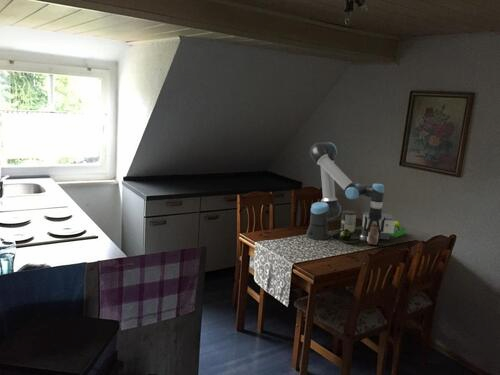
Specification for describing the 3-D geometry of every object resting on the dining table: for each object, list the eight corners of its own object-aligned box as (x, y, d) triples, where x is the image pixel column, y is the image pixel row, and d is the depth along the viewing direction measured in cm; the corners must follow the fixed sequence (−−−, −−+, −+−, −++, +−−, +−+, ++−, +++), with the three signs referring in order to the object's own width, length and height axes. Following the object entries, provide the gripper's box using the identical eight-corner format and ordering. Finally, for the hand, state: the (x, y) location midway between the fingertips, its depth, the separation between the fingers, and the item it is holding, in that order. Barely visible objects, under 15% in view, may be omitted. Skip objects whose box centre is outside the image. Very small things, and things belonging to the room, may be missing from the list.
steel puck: (360, 240, 287) (360, 236, 286) (359, 238, 291) (359, 234, 291) (366, 240, 287) (367, 236, 286) (365, 238, 291) (366, 234, 290)
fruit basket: (396, 237, 297) (398, 222, 295) (385, 234, 304) (387, 219, 302) (405, 235, 303) (407, 220, 301) (395, 232, 310) (397, 217, 308)
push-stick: (368, 244, 276) (370, 226, 274) (364, 236, 291) (366, 220, 288) (376, 244, 276) (378, 227, 273) (371, 237, 290) (373, 220, 288)
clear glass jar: (337, 229, 309) (339, 211, 307) (345, 227, 316) (347, 209, 314) (349, 233, 302) (351, 214, 299) (357, 230, 309) (359, 212, 306)
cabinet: (365, 242, 284) (367, 218, 281) (360, 234, 299) (363, 212, 296) (393, 243, 283) (396, 219, 280) (387, 236, 298) (389, 213, 295)
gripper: (363, 207, 270) (359, 242, 275) (391, 209, 269) (387, 244, 274) (360, 205, 277) (357, 238, 282) (388, 206, 277) (384, 240, 281)
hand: (372, 241), depth 278 cm, fingers closed on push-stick, 5 cm apart
